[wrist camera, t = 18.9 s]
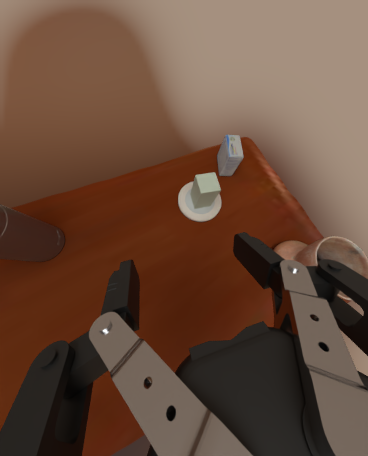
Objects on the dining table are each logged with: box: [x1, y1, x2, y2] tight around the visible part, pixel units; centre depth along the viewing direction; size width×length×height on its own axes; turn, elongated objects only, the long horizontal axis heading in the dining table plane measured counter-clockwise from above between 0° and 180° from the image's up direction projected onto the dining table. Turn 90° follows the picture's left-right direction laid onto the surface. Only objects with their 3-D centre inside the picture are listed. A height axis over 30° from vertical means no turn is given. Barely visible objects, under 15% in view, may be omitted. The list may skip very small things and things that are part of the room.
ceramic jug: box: [273, 236, 368, 300], centre depth 35 cm, size 18×14×14 cm
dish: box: [178, 181, 221, 222], centre depth 44 cm, size 13×13×1 cm
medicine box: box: [217, 135, 243, 176], centre depth 45 cm, size 8×4×9 cm, turn 2°
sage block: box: [190, 172, 221, 209], centre depth 39 cm, size 5×5×9 cm
